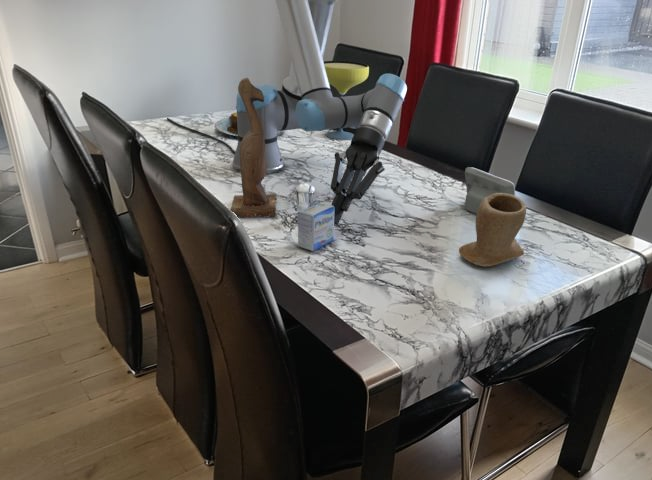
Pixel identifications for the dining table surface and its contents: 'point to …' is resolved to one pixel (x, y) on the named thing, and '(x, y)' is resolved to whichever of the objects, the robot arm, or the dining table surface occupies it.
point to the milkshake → (304, 196)
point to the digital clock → (483, 187)
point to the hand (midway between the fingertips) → (333, 221)
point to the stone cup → (496, 231)
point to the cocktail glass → (344, 84)
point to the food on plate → (229, 125)
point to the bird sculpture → (253, 161)
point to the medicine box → (316, 226)
